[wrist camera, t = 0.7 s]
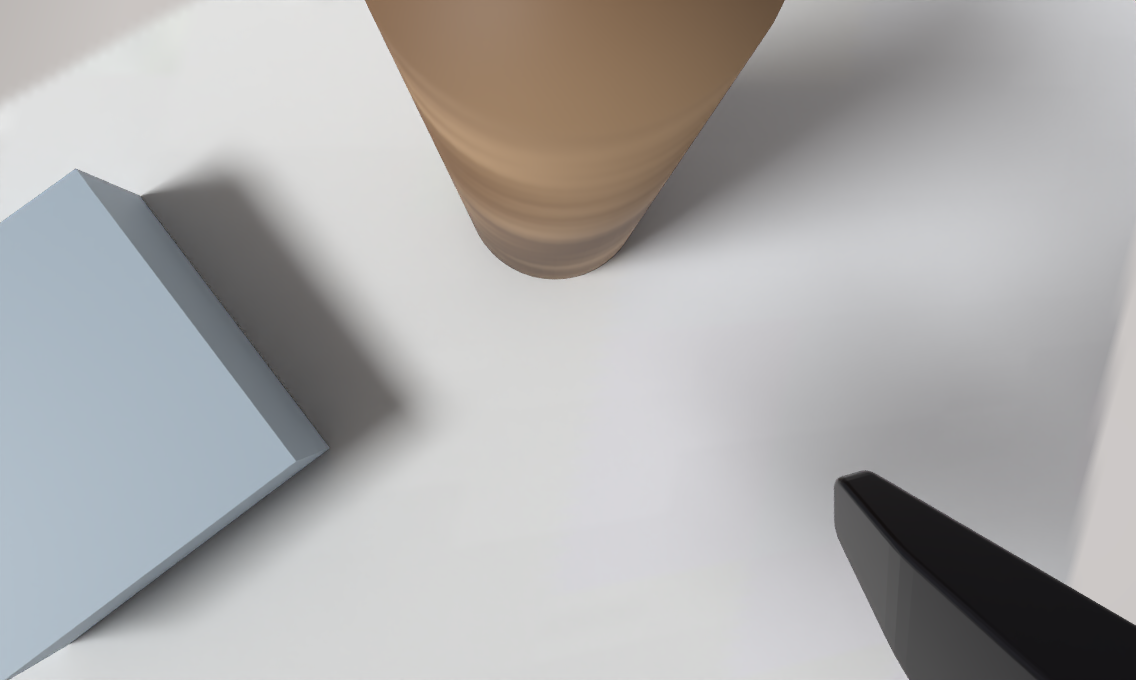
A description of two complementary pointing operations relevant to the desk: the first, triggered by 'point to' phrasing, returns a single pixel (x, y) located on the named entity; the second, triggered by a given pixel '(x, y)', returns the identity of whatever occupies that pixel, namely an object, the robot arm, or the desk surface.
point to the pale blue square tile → (118, 414)
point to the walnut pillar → (566, 109)
